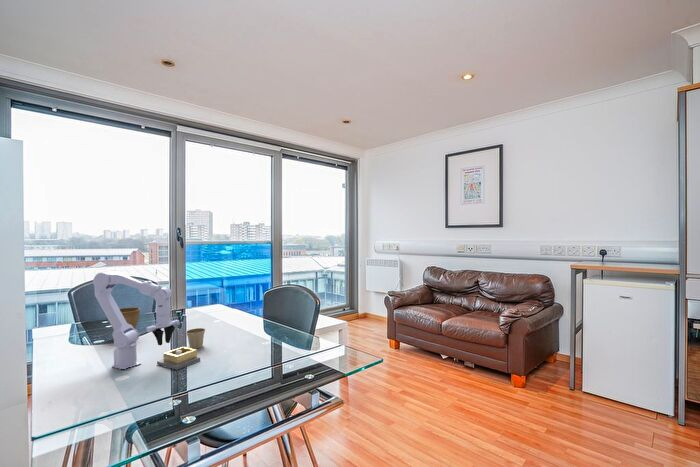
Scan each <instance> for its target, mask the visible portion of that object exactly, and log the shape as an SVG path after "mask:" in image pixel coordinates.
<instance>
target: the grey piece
mask: <svg viewBox="0 0 700 467" xmlns="http://www.w3.org/2000/svg"><path fill="white" fill-rule="evenodd" d="M180 354H182V350H177V351H176V355H180ZM199 362H201V357H199V356H197V357H196V358H193V359H191V360H188V361H185V362H183V363H180V364H173V363H170V362H166V361H164V358H162V359H160V360H158V361H156V365H157V364H159V365H158V366H160V365H162V366H161V367H164V366H166V367H165V368H167V367H169V368H168V369H171V368H172V369H171V370H174V369H175V370H174V371H179V370H181V369H183V368H186V367H188V366H191V365H193V364H196V363H199Z"/></svg>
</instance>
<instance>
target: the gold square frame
mask: <svg viewBox="0 0 700 467" xmlns="http://www.w3.org/2000/svg"><path fill="white" fill-rule="evenodd" d="M177 350H182V354H180V355H176V351H177ZM162 354H163V358H162V359H164V361H166V362H170V363H173V364H180V363H183V362H185V361H188V360H191V359H193V358H196V357H198V349H197V348H196V349H192V348H190V347H187V346H181V347H177V348H175V349H172V350H169V351H166V352H163V353H162Z"/></svg>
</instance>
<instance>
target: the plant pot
mask: <svg viewBox="0 0 700 467" xmlns="http://www.w3.org/2000/svg"><path fill="white" fill-rule="evenodd" d="M119 309H120V311H121V313H122V315H123V317H124V318H125V320H126V322H127V323H128V324H130V325H132V326H133V328H134V329H135V330H137V326H138V322H139V316H140V312H141V308H140V307H135V306H134V307H133V306H131V307H122V308H119Z"/></svg>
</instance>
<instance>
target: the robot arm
mask: <svg viewBox="0 0 700 467" xmlns="http://www.w3.org/2000/svg"><path fill="white" fill-rule="evenodd" d="M91 283H92V284H93V287H94V288H93V289H94V297H95V298H96V300H97V301H98V304H99V306H100V307H101V309H102V311H103V312H104V315H105V317H106V318H107V319H108V322H109V323H110V325H111V327H112V328H113V332H112V334H111V336H112V338H113V344H114V347H115V348H114V350H113V364H112V365H111V367H113V368H115V369H118V368H119V370H121V369H125V370H127V369H126V368H128V367H131V368H133V367H132V366H134V367H136V366H135V365H137V366H140V365H142V363H141V362H139V361H138V359H137V357H138V356H137V341H138V340H139V337H140V333H139V331H138V330H137V329H134V328H133V326H132V325H130V324H128V323H127V322H126V320H125V318H124V317H123V315H122V313H121V311H120V309H121V308H120V307H119V306H118V304H117V302H116V300H115V299H114V297H113V295H112V291H113V289H114V287H115V286H116V285H118V284H121V285H124V286H128V287H130V288H135V289H137V291H138V292H139V293H140V294H143V295H146V296H148V297H150V298H153V300H154V301H155V313H156V314H155V318H156V320H155V321H156V323H155V324H152V325H151V326H146V332H147V333H152V334H153V335H154V337H155V339H156V342H157V343H156V344H157V345H158V346H162V345H163V335H164V338H165V340H164V341H165V343H166V344H169V343H170V342H171V339H172V335H173V333H174V331H175V328H176V327H175V326H178V325H180V320H179V319H175V320H171V318H172V317H171V297H172V296H173V291H172V290H173V289H171V288H170V287H169V286H162V285H161V284H159V285H158V284H156V283H153V281H151V280H145V281H141V280H138V279H136V278H133V276H132V277H131V276H129V275H127V274H125V273H123V272H122V271H121V272H120V271H118V270H110V271H105V272H98V273H96V275H95V276H94V277H93V280H92V282H91ZM139 364H140V365H139ZM128 369H129V368H128Z"/></svg>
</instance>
